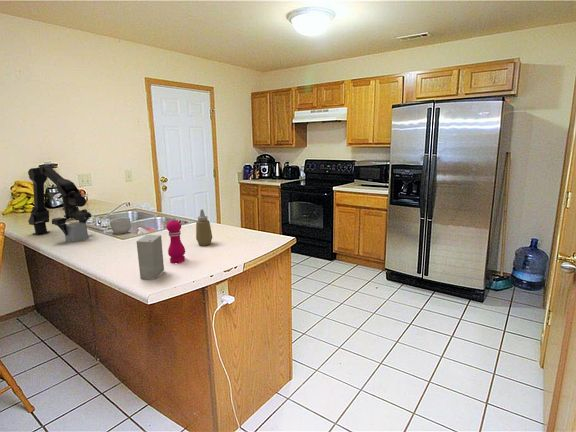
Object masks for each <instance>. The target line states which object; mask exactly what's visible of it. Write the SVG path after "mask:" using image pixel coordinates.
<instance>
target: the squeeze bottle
mask: <svg viewBox="0 0 576 432" xmlns="http://www.w3.org/2000/svg"><path fill="white" fill-rule="evenodd" d="M211 227H212V226H211V222H210V220H208V216H207V215H205V212H204V209H200V213H199V216H197V221H196V227H195V228H196V229H195V234H196V235H195V238H196V241H197V243H198V245H199V246H202V247H203V246H204V247H205V246H209V245H211V243H212V241H213V233H212V228H211Z"/></svg>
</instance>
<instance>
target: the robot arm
mask: <svg viewBox="0 0 576 432" xmlns="http://www.w3.org/2000/svg"><path fill="white" fill-rule="evenodd" d="M27 174H28V178H29V180H30V181H31V183H32V185H33V186H32V187H33V208H32V209H31V210H30V216H29V218H28V221H27V222H28V224H29V226H30V225H31V226H33V228H34V229H33V230H34V232H33V233H32V235H35V236H41V235H45V234H47V233H51V231H50V230H48V229H47V223H50V211H49V210H48V209H47V208H46V206H45V201H46V200H45V183H46V181H47V180H48V179H49V180H50V181H51V182H52V183H53V184H54V185H55V186H56V187H55V188H56V190H57V191H58V192H59V193H60V195H59V197H60V198H61V199H62V204H63V207H62V210H63V212H64V215H63V217H54V218H52V219H51V225H54V226H57V227H58V228H59V229H60V230H61V232H62V233H63V234H64V236H65V235H66V236H67V229H66V225H67V224H68V223H66V222H68V221H69V222H70V221H72V220H73V221H74V220H75V221H78V222H81V223H86V224H87V221H89V220H90V218H92V213H91V212H90V211H88V209H86V208H84V209H82V210H80V209H79V207H80V208H81V207H84V206H85V205H86V203H87V200H86V198H85V196H83V195H82V193H81V192H80V190H79V188H78V187H77V186H76V184H75V183H74V182H73V181H72V180H70V179H66V178H64V177H62V175H60V174H59V173H58V172H57V171H56V170H54V169H53V167H52V166H51V165H40V166H39V167H33V168H29V169H28V171H27Z"/></svg>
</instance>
